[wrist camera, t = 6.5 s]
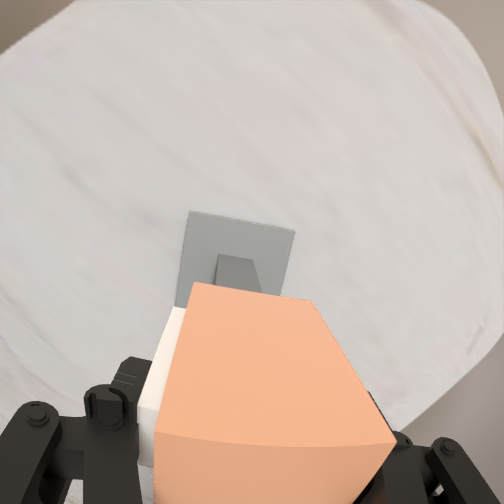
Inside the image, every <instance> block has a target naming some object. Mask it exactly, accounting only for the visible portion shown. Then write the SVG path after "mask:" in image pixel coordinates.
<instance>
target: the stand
mask: <svg viewBox="0 0 504 504" xmlns="http://www.w3.org/2000/svg"><path fill="white" fill-rule="evenodd" d="M294 234H295V231H294V230H289V229H284V228H279V227H274V226H269V225H264V224H258V223H253V222H248V221H243V220H238V219H232V218H227V217H221V216H216V215H211V214H205V213H199V212H194V211H189V216H188V222H187V228H186V234H185V240H184V246H183V253H182V259H181V266H180V273H179V280H178V287H177V294H176V302H175V307H179V308H184V309H186V308H187V304H188V301H189V297H190V294H191V290H192V287H193V284H194V282H199V283H204V284H210V285H216V286H221V287H227V288H233V289H239V290H245V291H251V292H257V293H263V294H269V295H275V296H280V293H281V289H282V285H283V281H284V276H285V272H286V268H287V264H288V260H289V256H290V251H291V247H292V243H293V238H294Z"/></svg>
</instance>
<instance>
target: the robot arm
mask: <svg viewBox="0 0 504 504" xmlns="http://www.w3.org/2000/svg"><path fill="white" fill-rule="evenodd" d="M185 311H186V309H184V308H179V307H174V306H173V309H172V312H171V314H170V317H169V319H168V322H167V324H166V327H165V330H164V332H163V335H162V338H161V340H160V343H159V346H158V348H157V351H156V354H155V357H154V359H153V361H149V360H145V359H140V358H136V357H131V356H130V357H129V358H128V359H126V360H125V361H123V362H122V363H121V365H120V367H119V369H118V371H117V373H116V375H115V377H114V379H113V381H112V383H111V385H110V384H103V385H97V386H94V387H92V388H90V389H89V390H88V391H86V393H85V396H84V404H85V412H86V416H84V417H66V416H59V414H58V411H57V410H56V409H55V408H54V407H53V406H52V405H50V404H48V403H46V402H41V401H31V402H28V403H25V404H23V405H22V406H21V407H20V408H19V409H18V410H17V412H16V413H15V414H14V416H13V417H12V419H11V420H10V422H9V423H8V425H7V426H6V428H5V429H4V431H3V432H2V434H1V436H0V504H64V501H65V498H66V495H67V493H68V490H69V487H70V484H71V482H72V479H79V480H83V504H143V503H142V496H141V489H140V482H139V474H138V465H137V461H138V464H139V465H143V466H147V467H152V468H154V430H155V426H156V422H157V418H158V413H159V409H160V405H161V401H162V397H163V393H164V389H165V385H166V381H167V378H168V374H169V370H170V366H171V362H172V358H173V355H174V351H175V347H176V344H177V340H178V336H179V333H180V329H181V325H182V322H183V318H184V315H185ZM367 392H368V393H369V395H370V397H371V398H372V400H373V402H374V399H373V397H372V396H371V394H370V392H369V391H367ZM374 403H375V405H376V407H377V408H379V407H378V406H377V404H376V402H374ZM378 410H379V412H380V413H381V415H382V417H383V418H384V420H385V422H386V424H387V425H388V427H389V429H390V430H391V432H392V434H393V435H394V437H395V439H396V441H397V443H396V444H395V446H394V447H393V449H392V451H391V452H390V454H389V455H388V456H387V458H386V459H385V461H384V462H383V464H382V465H381V467H380V468H379V469H378V471H377V472H376V474H375V475H374V476H373V478H372V479H371V480H370V482H369V483H368V484H367V486H366V487H365V488H364V489H363V491H362V492H361V493H360V495H359V496H358V497H357V498H356V500H355V501H354V502H353V503H352V504H500V502H499V500H498V499H497V498H496V496H495V494H494V493H493V492H492V490H491V489H490V487H489V486H488V484H487V483H486V481H485V480H484V478H483V477H482V475H481V474H480V472H479V471H478V470H477V468H476V467H475V465H474V464H473V462H472V461H471V460H470V458H469V457H468V455H467V454H466V453H465V451H464V450H463V448H462V447H461V446H460V445H459V444H458V443H457V442H456V441H454V440H452V439H449V438H446V437H445V438H444V437H440V438H438V439H436V440H435V441H434V442H433V444H432V445H431V447H424V446H415V445H413V443H412V442H411V440H410V439H409V438H408V437H407V436H406V435H404V434H402V433H400V432H397V431H392V429H391V428H390V426H389V424H388V422H387V421H386V419H385V417H384V416H383V414H382V412H381V411H380V409H378ZM440 485H442V487H443V489H444V491H443V492H442V493H441V494H440V495H439V494H437V493H436V491H435V490H436V489H437V488H438V487H439V486H440Z"/></svg>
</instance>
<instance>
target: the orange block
mask: <svg viewBox="0 0 504 504" xmlns="http://www.w3.org/2000/svg"><path fill="white" fill-rule="evenodd" d="M396 443H397V441H396V439H395V437H394V435H393V434H392V432H391V430H390V429H389V427H388V425H387V424H386V422H385V420H384V418H383V417H382V415H381V413H380V412H379V410H378V408H377V407H376V405H375V403H374V402H373V400H372V398H371V397H370V395H369V393H368V392H367V390H366V388H365V387H364V385H363V383H362V382H361V380H360V378H359V377H358V375H357V373H356V372H355V370H354V368H353V367H352V365H351V364H350V362H349V360H348V359H347V357H346V355H345V354H344V352H343V350H342V349H341V347H340V346H339V344H338V342H337V341H336V339H335V337H334V336H333V334H332V333H331V331H330V329H329V328H328V326H327V324H326V323H325V321H324V320H323V318H322V316H321V315H320V313H319V312H318V310H317V308H316V307H315V305H314V304H313V302H312V301H307V300H301V299H294V298H288V297H281V296H275V295H269V294H263V293H257V292H251V291H245V290H239V289H233V288H227V287H221V286H216V285H210V284H204V283H199V282H194V284H193V287H192V290H191V294H190V297H189V301H188V304H187V308H186V311H185V315H184V318H183V322H182V325H181V329H180V333H179V336H178V340H177V344H176V347H175V351H174V355H173V358H172V362H171V366H170V370H169V374H168V378H167V381H166V385H165V389H164V393H163V397H162V401H161V405H160V409H159V413H158V418H157V422H156V426H155V430H154V504H352V503H353V502H354V501H355V500H356V498H357V497H358V496H359V495H360V493H361V492H362V491H363V489H364V488H365V487H366V486H367V484H368V483H369V482H370V480H371V479H372V478H373V476H374V475H375V474H376V472H377V471H378V469H379V468H380V467H381V465H382V464H383V462H384V461H385V459H386V458H387V456H388V455H389V454H390V452H391V451H392V449H393V447H394V446H395V444H396Z"/></svg>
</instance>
